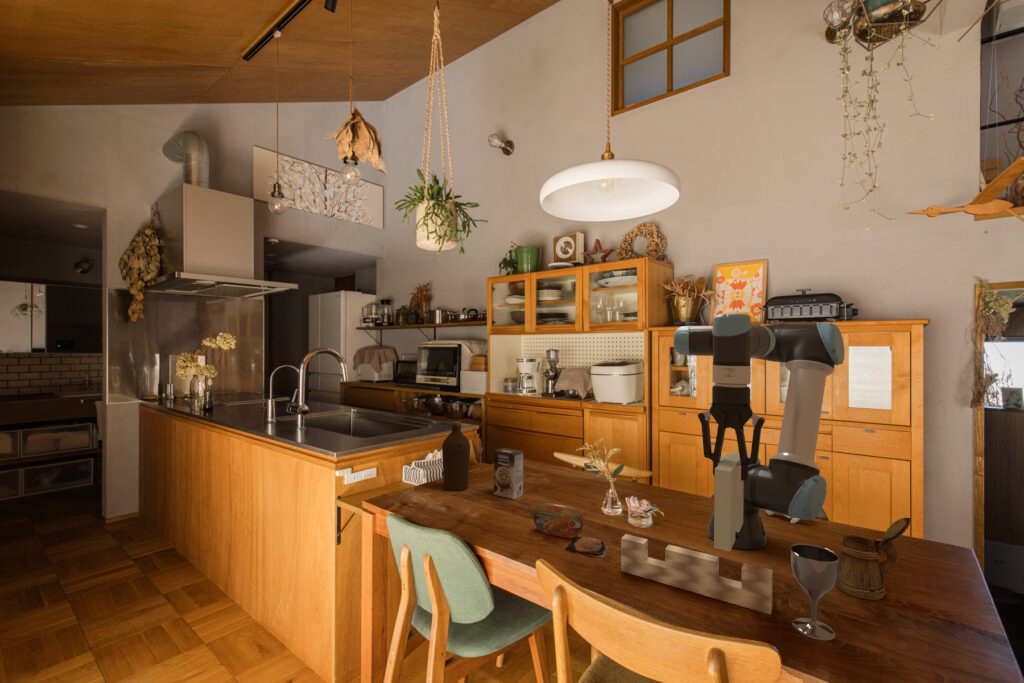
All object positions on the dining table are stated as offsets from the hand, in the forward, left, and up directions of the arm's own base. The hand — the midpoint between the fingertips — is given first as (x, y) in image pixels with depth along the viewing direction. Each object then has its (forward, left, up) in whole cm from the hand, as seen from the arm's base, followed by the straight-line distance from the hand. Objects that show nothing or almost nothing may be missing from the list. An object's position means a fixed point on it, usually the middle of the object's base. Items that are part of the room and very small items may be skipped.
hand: (730, 492), depth 101 cm
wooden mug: (-34, +3, -23) cm, 41 cm away
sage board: (0, 0, -9) cm, 9 cm away
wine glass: (-10, +12, -23) cm, 28 cm away
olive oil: (+52, -88, -23) cm, 105 cm away
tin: (+26, -40, -23) cm, 53 cm away
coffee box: (+34, -76, -23) cm, 86 cm away
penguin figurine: (-48, -38, -23) cm, 65 cm away
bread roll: (+22, -29, -24) cm, 43 cm away
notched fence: (+5, -6, -23) cm, 24 cm away
